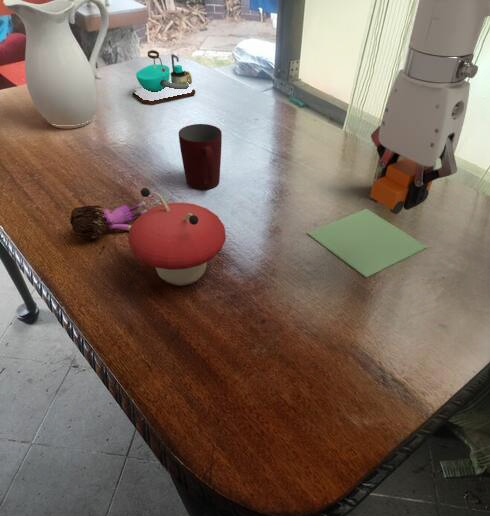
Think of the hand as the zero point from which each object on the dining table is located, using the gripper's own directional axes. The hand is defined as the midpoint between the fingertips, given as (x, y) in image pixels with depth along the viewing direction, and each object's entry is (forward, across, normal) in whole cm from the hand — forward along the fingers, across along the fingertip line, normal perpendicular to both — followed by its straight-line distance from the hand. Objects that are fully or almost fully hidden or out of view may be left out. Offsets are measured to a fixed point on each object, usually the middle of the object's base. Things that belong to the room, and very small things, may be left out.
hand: (398, 197), depth 68 cm
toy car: (+1, 0, 0) cm, 1 cm away
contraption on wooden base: (+15, +97, -11) cm, 99 cm away
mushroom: (+15, +20, +28) cm, 37 cm away
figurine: (+15, +39, +32) cm, 53 cm away
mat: (+15, +8, -6) cm, 19 cm away
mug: (+15, +44, +8) cm, 47 cm away
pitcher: (+15, +94, +16) cm, 96 cm away
